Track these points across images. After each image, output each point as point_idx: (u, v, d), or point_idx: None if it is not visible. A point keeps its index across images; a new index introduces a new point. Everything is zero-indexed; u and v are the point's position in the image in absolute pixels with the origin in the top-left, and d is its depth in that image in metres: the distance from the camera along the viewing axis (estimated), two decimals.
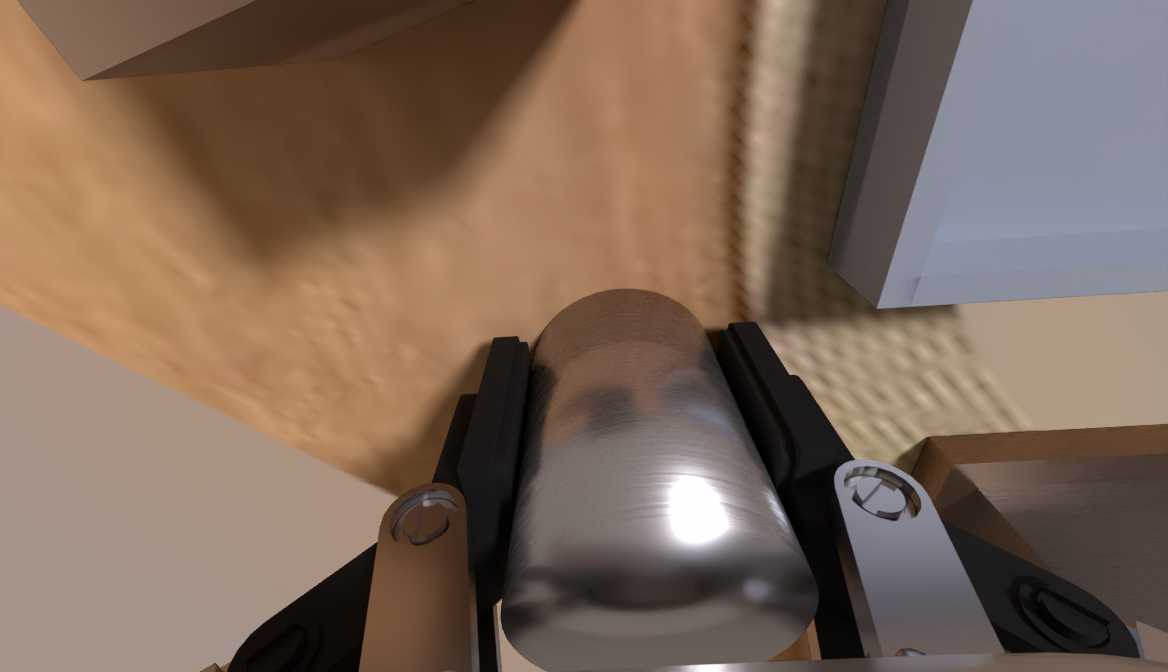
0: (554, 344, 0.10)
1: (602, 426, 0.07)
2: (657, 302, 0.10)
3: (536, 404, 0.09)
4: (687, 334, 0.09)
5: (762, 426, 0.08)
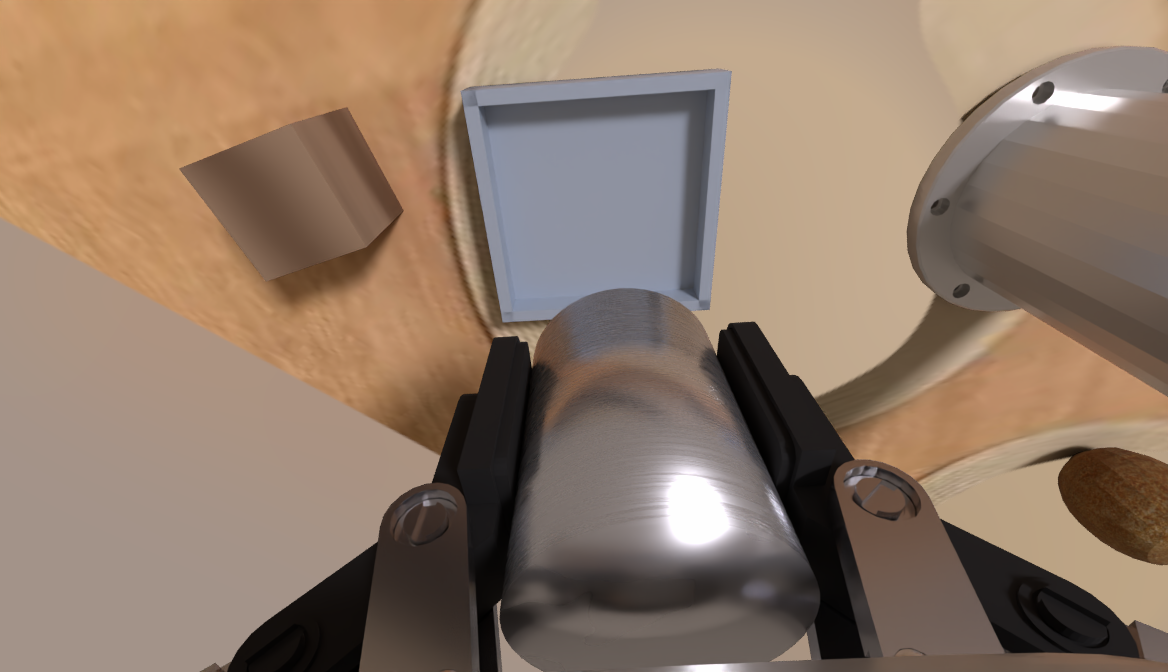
0: (553, 344, 0.10)
1: (602, 426, 0.07)
2: (657, 301, 0.10)
3: (535, 404, 0.09)
4: (687, 334, 0.09)
5: (762, 426, 0.08)
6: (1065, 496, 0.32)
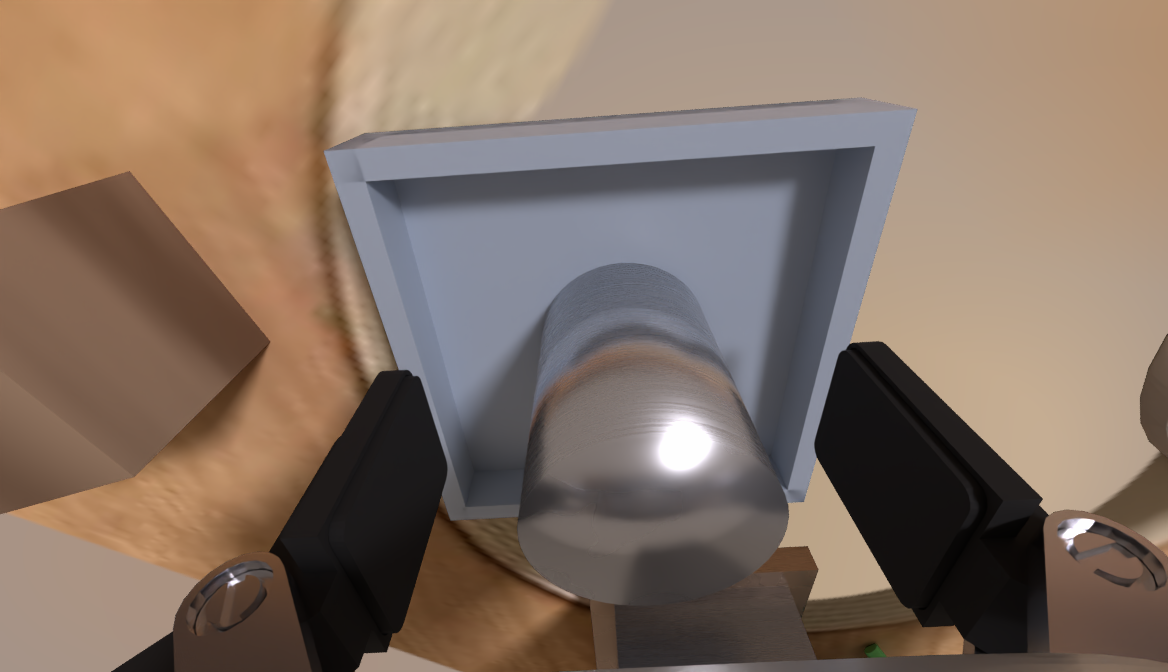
0: (562, 310, 0.11)
1: (605, 369, 0.08)
2: (655, 274, 0.11)
3: (546, 360, 0.10)
4: (681, 301, 0.10)
5: (927, 465, 0.07)
6: None
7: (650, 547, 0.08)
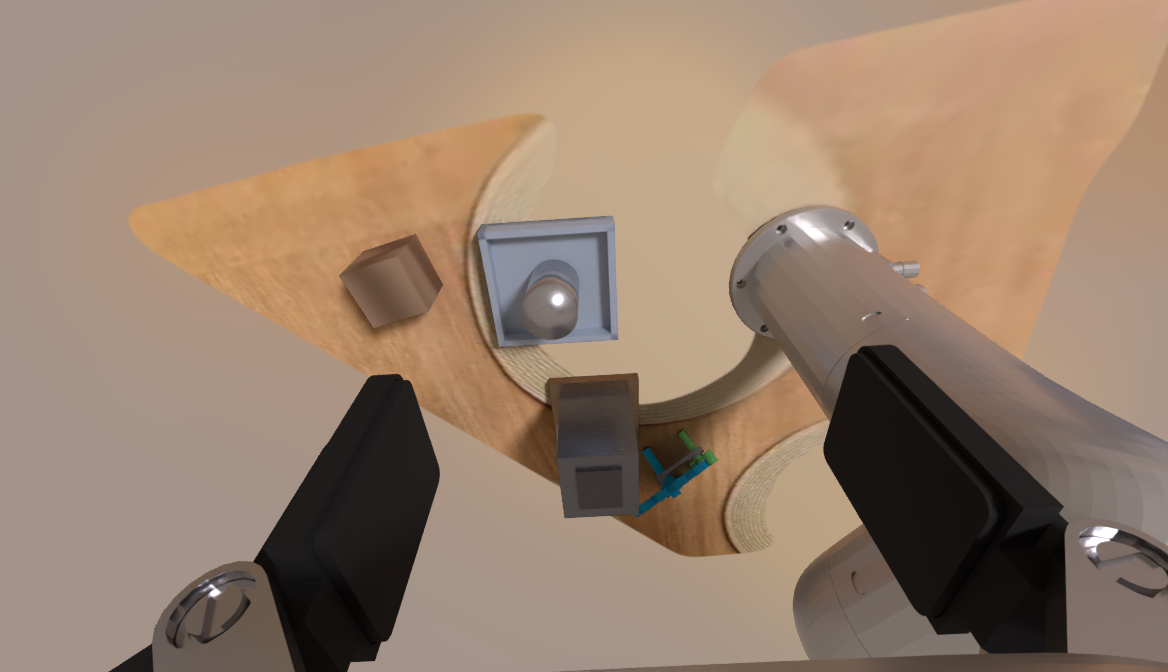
0: (535, 271, 0.39)
1: (543, 281, 0.36)
2: (562, 263, 0.40)
3: (530, 282, 0.38)
4: (567, 270, 0.39)
5: (943, 471, 0.07)
6: None
7: (549, 320, 0.36)
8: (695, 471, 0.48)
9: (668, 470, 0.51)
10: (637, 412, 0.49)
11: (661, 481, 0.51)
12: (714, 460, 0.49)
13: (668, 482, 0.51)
